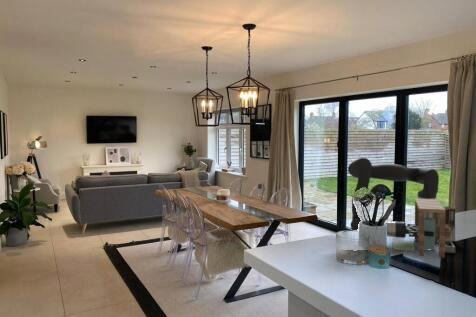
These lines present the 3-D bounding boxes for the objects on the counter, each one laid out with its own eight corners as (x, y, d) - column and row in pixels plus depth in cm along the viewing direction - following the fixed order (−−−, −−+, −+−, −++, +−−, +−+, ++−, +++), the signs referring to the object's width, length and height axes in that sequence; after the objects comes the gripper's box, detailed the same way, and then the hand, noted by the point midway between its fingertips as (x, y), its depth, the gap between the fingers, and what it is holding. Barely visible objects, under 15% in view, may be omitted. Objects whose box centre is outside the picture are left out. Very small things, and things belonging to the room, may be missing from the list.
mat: (393, 241, 178) (393, 241, 178) (413, 243, 175) (413, 242, 175) (393, 249, 167) (393, 248, 167) (415, 251, 164) (415, 250, 164)
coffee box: (449, 237, 182) (449, 206, 181) (455, 241, 176) (456, 208, 175) (430, 237, 183) (430, 206, 182) (435, 241, 177) (436, 209, 176)
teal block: (422, 246, 170) (422, 217, 169) (433, 247, 168) (433, 217, 167) (423, 249, 166) (423, 219, 165) (434, 250, 164) (435, 220, 163)
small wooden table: (414, 240, 179) (414, 198, 178) (437, 241, 176) (437, 199, 174) (418, 255, 158) (419, 208, 157) (444, 257, 154) (445, 209, 153)
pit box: (441, 246, 169) (441, 240, 169) (451, 247, 167) (451, 241, 167) (444, 252, 160) (444, 246, 160) (455, 253, 159) (455, 247, 159)
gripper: (394, 225, 165) (434, 227, 159) (394, 217, 178) (431, 220, 172) (394, 241, 165) (434, 244, 159) (394, 232, 179) (430, 235, 172)
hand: (432, 231), depth 166 cm, fingers open, 8 cm apart
